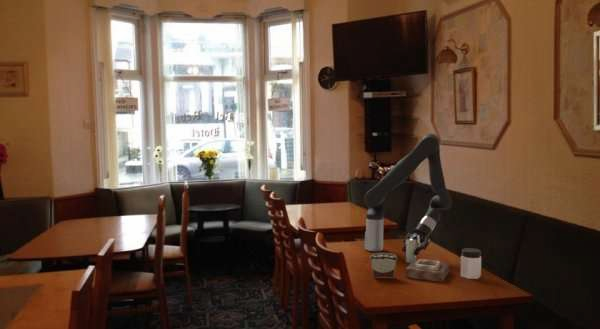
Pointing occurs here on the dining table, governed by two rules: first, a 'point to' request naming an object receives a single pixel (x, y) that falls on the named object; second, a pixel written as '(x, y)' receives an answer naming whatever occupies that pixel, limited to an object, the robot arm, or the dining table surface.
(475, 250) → the jar
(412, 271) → the display plinth
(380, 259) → the food container
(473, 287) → the dining table surface
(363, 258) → the dining table surface
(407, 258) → the sage cylinder
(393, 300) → the dining table surface
